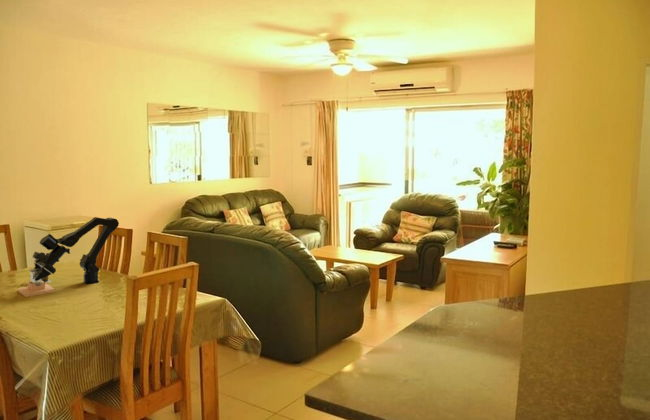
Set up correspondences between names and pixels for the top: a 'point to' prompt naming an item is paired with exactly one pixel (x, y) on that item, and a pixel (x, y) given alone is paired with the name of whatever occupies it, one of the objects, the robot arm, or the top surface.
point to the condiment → (45, 279)
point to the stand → (36, 289)
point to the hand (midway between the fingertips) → (32, 278)
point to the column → (35, 275)
